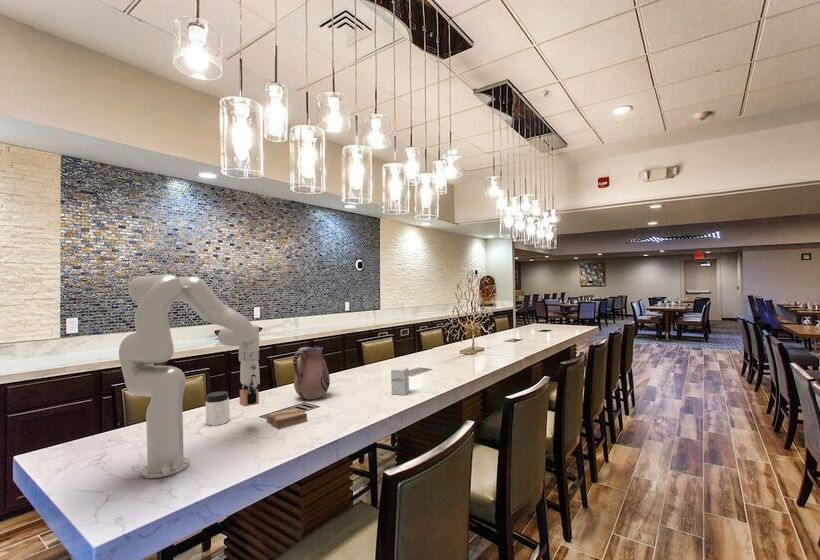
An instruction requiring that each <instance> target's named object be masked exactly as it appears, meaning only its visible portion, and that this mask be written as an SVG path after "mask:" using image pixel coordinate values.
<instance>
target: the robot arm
mask: <svg viewBox="0 0 820 560" xmlns="http://www.w3.org/2000/svg"><path fill="white" fill-rule="evenodd" d="M127 291H128V294H129V297H131V299H132V300H134V301H135V302H139V303H138V305H137V307H136V309H135V312H134V325H135V332H133V333H130V334H129V335H126V336H125V337H124V338H123V339H122V341H121V343H120V344H119V348H118V357H119V362H120V367H121V371H122V376H123V379H124V381H123V382H124V384H125V387H126V388H127V390H128V392H129V393H130V394H132V395H133V396H136V397H137V396H138V397H146V398H147V397H148V398H150V401H149V404H148V407H147V409H146V413H145V421H146V424H145V425H146V458H147V459H146V460H147V461H146V463H147V464H146V465H145V466H144V467H143V468H142V469H141V471H140V473H141V474H140V475H141V477H142V478H145V479H159V478H165V477H169V476H172V475H175V474H178V473H180V472H182V471H184V470H185V469H187V468H188V467H189V465H190V459H189V458H188V457H186V456H185V455H184V454H185V452H184V451H185V450H184V421H183V420H184V419H183V418H184V417H183V413H184V412H183V402H184V400H183V399H184V392H185V387H186V375H185V373H184V372H183V371H182V369H180V367H179V368H178V367H176V366H172V365H157V364H163V363H166V362H168V361H169V360H171V359H172V357H173V355H174V352H175V349H174V342H173V339H172V332H171V329H170V324H169V311H170V309H171V307H172V305H173V304H174V303H177V302H179V303H181V302H185V303H186V304H188V306H190V307H191V309H192V310H193V311H194V312H195V313H196V314H197V315H198V316H199V317H200V319H202V320H203V321H204V322H206V323H207V322H208V323H210V324H212V325H216V326H220V327H223V328H222V329H220V331H219V332H218V335H217V339H218V341H219V343H220V344H222V345H224V346H228V347H235V346H236V347H238V361H239V362H240V366H239V367H240V368H239V369H240V370H239V371H240V373H239V380H240V384H241V387H242V389H241V390H244V389H248V394H247V403H248V404H254V403H256V389H258V386H259V385H260V384H261V378H260V377H261V374H260V373H261V372H260V364H259V360H260V329H259V326H258V325H255V324H254V325H253V324H252V323H251V321H250V320H249V319H248V318H247V317H246V316H244V315H243V314H242V313H241V312H238V311H237V310H235V309H233V308H232V307H230V306H228V305H226V304H224V303H223V302H222V300H220V299H219V297H218V296H217V295H216V294H215V292H214V291H213V290H212V289H211V288H210V286H209V285H207V283H206V282H205V281H204V280H203V279H202V278H200V277H197V276H181V277H179V276H177V275H174V274H165V273H164V274H153V275H141V276H136V277H135V278H133V279H132V280H131V281H130V282H129V284H128V288H127ZM155 364H156V365H155ZM250 388H251V390H250Z"/></svg>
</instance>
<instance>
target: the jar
mask: <svg viewBox="0 0 820 560" xmlns="http://www.w3.org/2000/svg"><path fill="white" fill-rule="evenodd" d="M230 417H231V415H230V398H229V392H228V391H224V390H223V391H222V390H220V391H214V392H210V393H207V394H206V401H205V425H206V426H210V425H212V426H211V427H215V426H214V425H216V426H220V425H219V424H221V425H225V424H227V423H228V422H229V421H230V419H231V418H230ZM227 421H228V422H227ZM226 422H227V423H226ZM224 423H225V424H224Z"/></svg>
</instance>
